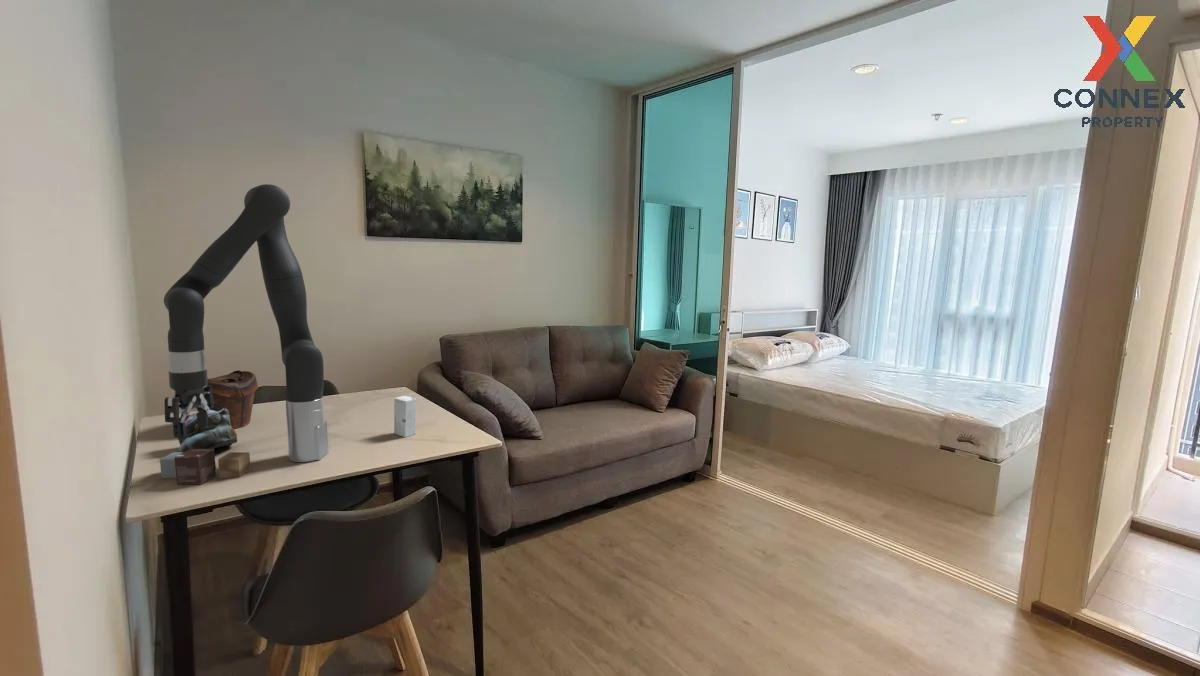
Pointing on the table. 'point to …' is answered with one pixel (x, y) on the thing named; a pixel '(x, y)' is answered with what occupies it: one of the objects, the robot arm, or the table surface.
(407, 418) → the skincare box
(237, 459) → the walnut block
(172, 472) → the grey block
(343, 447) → the table surface
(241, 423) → the brown wooden container
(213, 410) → the grey-blue rounded figure
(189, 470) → the box
